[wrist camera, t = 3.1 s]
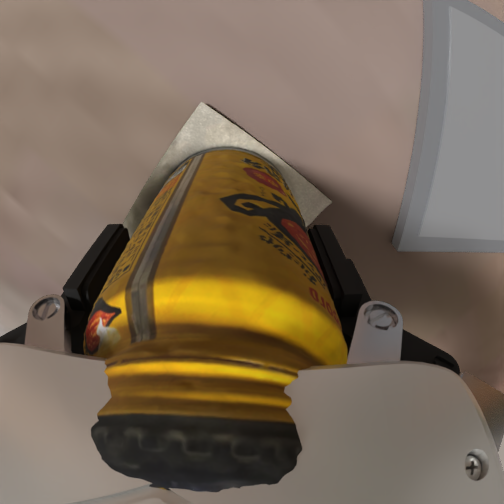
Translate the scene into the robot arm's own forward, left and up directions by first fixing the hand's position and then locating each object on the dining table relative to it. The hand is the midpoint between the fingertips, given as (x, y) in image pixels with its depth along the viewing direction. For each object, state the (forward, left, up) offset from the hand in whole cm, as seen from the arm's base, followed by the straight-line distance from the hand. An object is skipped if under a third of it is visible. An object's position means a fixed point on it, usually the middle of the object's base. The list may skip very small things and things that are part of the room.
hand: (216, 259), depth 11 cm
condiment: (0, 0, -4) cm, 4 cm away
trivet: (+6, -16, -3) cm, 17 cm away
